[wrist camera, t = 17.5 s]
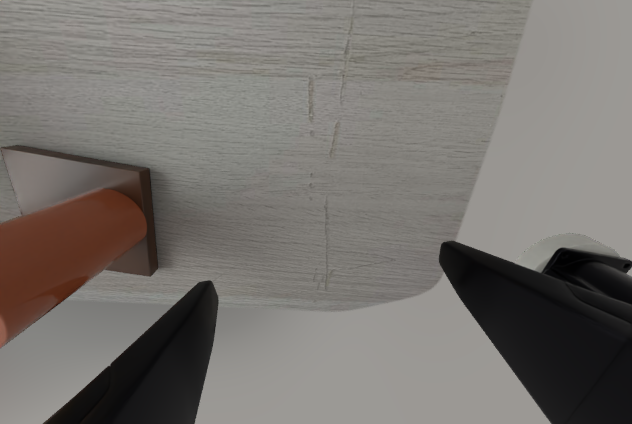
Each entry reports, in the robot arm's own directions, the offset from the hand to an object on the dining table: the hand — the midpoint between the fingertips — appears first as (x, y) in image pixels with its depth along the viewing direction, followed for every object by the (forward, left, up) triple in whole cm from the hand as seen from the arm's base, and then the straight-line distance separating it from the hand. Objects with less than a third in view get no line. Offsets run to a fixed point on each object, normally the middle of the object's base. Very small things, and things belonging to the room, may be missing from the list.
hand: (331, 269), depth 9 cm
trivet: (+19, +6, -11) cm, 23 cm away
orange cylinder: (+17, +6, -10) cm, 20 cm away
